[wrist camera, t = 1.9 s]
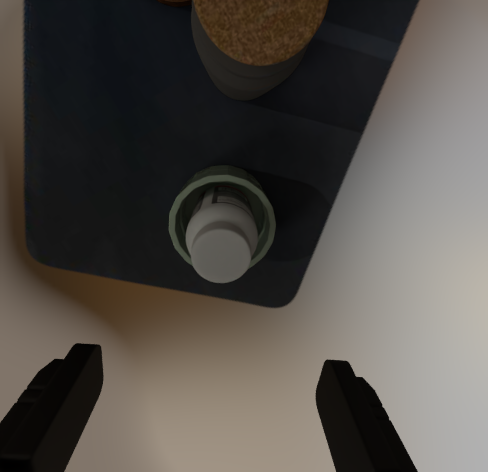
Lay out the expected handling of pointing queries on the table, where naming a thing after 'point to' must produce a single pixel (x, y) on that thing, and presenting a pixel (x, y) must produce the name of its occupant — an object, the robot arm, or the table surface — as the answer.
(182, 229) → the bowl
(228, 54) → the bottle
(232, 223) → the pill bottle
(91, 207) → the table surface
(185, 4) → the stand
